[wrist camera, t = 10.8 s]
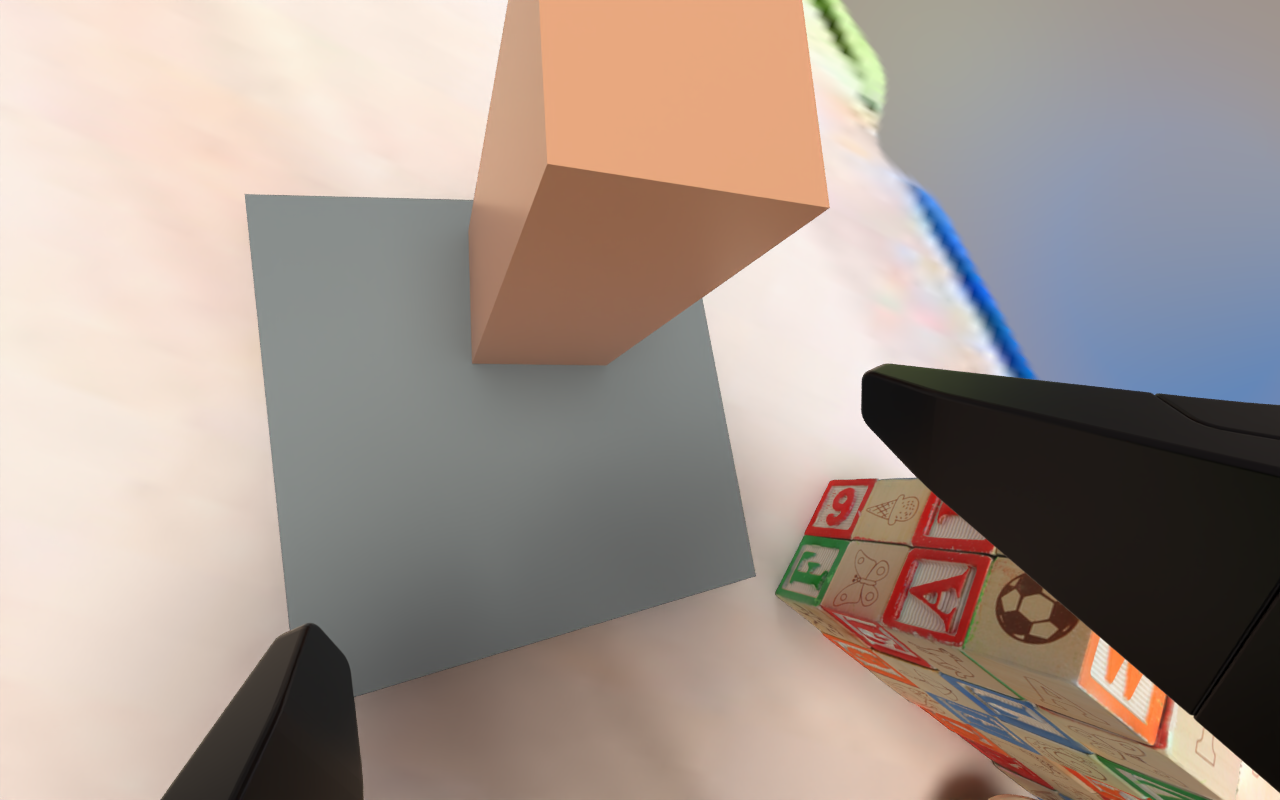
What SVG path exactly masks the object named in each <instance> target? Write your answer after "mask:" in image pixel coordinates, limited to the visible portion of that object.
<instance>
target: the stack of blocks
mask: <svg viewBox="0 0 1280 800" xmlns="http://www.w3.org/2000/svg"><path fill="white" fill-rule="evenodd" d="M775 594H776V596H777V597H778V598H779V599H781V600H782V601H783V602H785V603H786V604H787V605H788V606H790V607H791V608H792V609H794V610H795V611H796V612H797V613H799V614H800V615H801V616H803V617H804V618H805V619H806V620H808V621H809V622H810V623H811V624H813V625H814V626H815V627H817V628H818V629H819V630H820V631H821V632H822V634H823V635H824V636H825V637H827V638H828V639H829V640H830V641H832V642H833V643H834V644H836V645H837V646H838V647H839V648H841V649H842V650H843V651H845V652H846V653H847V654H849V655H850V656H851V657H853V658H854V659H855V660H856V661H858V662H859V663H860V664H861V665H863V666H864V667H866V668H867V669H868V670H869V671H871V672H872V673H873V674H874V675H876V676H877V677H878V678H879V679H880V680H882V681H883V682H884V683H886V684H887V685H888V686H890V687H891V688H892V689H893V690H895V691H896V692H897V693H899V694H900V695H901V696H903V697H904V698H905V699H907V700H908V701H910V702H912V703H914V704H917V705H918V706H919V707H921V708H922V709H924V710H925V711H926V712H928V713H929V714H930V715H931V716H933V717H934V718H935V719H937V720H938V721H939V722H941V723H942V724H943V725H945V726H946V727H947V728H948V729H950V730H951V731H953V732H955V733H957V734H958V735H960V736H961V737H962V738H963V739H965V740H966V741H967V742H968V743H970V744H971V745H972V746H974V747H975V748H976V749H978V750H979V751H980V752H981V753H983V754H984V755H986V756H987V757H988V758H989V759H991V760H993V761H994V764H995V766H996V767H997V768H999V769H1000V770H1001V771H1003V772H1004V773H1005V774H1006V775H1008V776H1009V777H1010V778H1012V779H1013V780H1014V781H1015V782H1017V783H1018V784H1019V785H1021V786H1022V787H1023V788H1025V789H1026V790H1027V791H1029V792H1030V793H1031V794H1033V795H1035V796H1036V797H1037V798H1039V799H1040V800H1280V793H1279V792H1278V791H1277V790H1275V789H1274V788H1273V787H1272V786H1271V785H1270V784H1268V783H1267V782H1266V781H1265V780H1264V779H1263V778H1261V777H1260V776H1259V775H1258V774H1257V773H1256V772H1255V771H1253V770H1252V769H1251V768H1250V767H1249V766H1248V765H1246V764H1245V763H1244V762H1243V761H1242V760H1241V759H1240V758H1238V757H1237V756H1236V755H1235V754H1234V753H1233V752H1231V751H1230V750H1229V749H1228V748H1227V747H1226V746H1224V745H1223V744H1222V743H1221V742H1220V741H1219V740H1218V739H1216V738H1215V737H1214V736H1213V735H1212V734H1211V733H1209V732H1208V731H1207V730H1206V729H1205V728H1204V727H1203V726H1201V725H1200V724H1199V723H1198V722H1197V721H1196V720H1195V719H1194V718H1193V716H1192V715H1189V714H1188V713H1187V712H1186V711H1185V710H1183V709H1182V708H1181V707H1180V706H1179V705H1178V704H1176V703H1175V702H1174V701H1173V700H1172V699H1171V698H1170V697H1168V696H1167V695H1166V694H1165V693H1164V692H1163V691H1161V690H1160V689H1159V688H1158V687H1157V686H1156V685H1154V684H1153V683H1152V682H1151V681H1150V680H1149V679H1148V678H1146V677H1145V676H1144V675H1143V674H1142V673H1141V672H1139V671H1138V670H1137V669H1136V668H1135V667H1134V666H1132V665H1131V664H1130V663H1129V662H1128V661H1127V660H1126V659H1124V658H1123V657H1122V656H1121V655H1120V654H1119V653H1117V652H1116V651H1115V650H1114V649H1113V648H1112V647H1110V646H1109V645H1108V644H1107V643H1106V642H1105V641H1104V640H1102V639H1101V638H1100V637H1099V636H1098V635H1097V634H1095V633H1094V632H1093V631H1092V630H1091V629H1090V628H1088V627H1087V626H1086V625H1085V624H1084V623H1083V622H1082V621H1080V620H1079V619H1078V618H1077V617H1076V616H1075V615H1073V614H1072V613H1071V612H1070V611H1069V610H1068V609H1066V608H1065V607H1064V606H1063V605H1062V604H1061V603H1060V602H1058V601H1057V600H1056V599H1055V598H1054V597H1053V596H1051V595H1050V594H1049V593H1048V592H1047V591H1046V590H1044V589H1043V588H1042V587H1041V586H1040V585H1039V584H1038V583H1036V582H1035V581H1034V580H1033V579H1032V578H1031V577H1029V576H1028V575H1027V574H1026V573H1025V572H1024V571H1022V570H1021V569H1020V568H1019V567H1018V566H1017V565H1016V564H1014V563H1013V562H1012V561H1011V560H1010V559H1009V558H1007V557H1006V556H1005V555H1004V554H1003V553H1002V552H1000V551H999V550H998V549H997V548H996V547H995V546H994V545H992V544H991V543H990V542H989V541H988V540H987V539H985V538H984V537H983V536H982V535H981V534H980V533H978V532H977V531H976V530H975V529H974V528H973V527H972V526H970V525H969V524H968V523H967V522H966V521H965V520H963V519H962V518H961V517H960V516H959V515H958V514H956V513H955V512H954V511H953V510H952V509H951V508H950V507H948V506H947V505H946V504H945V503H944V502H943V501H941V500H940V499H939V498H938V497H937V496H936V495H935V494H934V493H932V492H931V491H930V490H929V489H928V488H927V487H926V486H925V485H924V484H923V483H922V482H921V481H920V480H919V479H918V478H897V479H881V480H879V479H856V480H832V481H830V482H829V484H828V486H827V488H826V490H825V492H824V494H823V496H822V498H821V500H820V502H819V504H818V506H817V508H816V510H815V512H814V515H813V517H812V519H811V521H810V523H809V525H808V527H807V529H806V531H805V534H804V537H803V539H802V541H801V543H800V545H799V547H798V549H797V551H796V553H795V555H794V557H793V559H792V561H791V563H790V565H789V567H788V569H787V571H786V573H785V575H784V577H783V579H782V581H781V583H780V585H779V587H778V589H777V590H776V593H775Z"/></svg>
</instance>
